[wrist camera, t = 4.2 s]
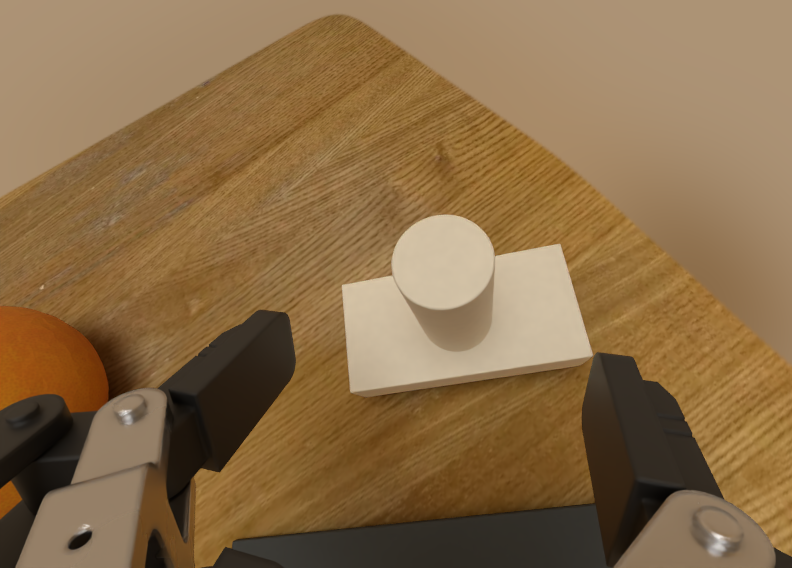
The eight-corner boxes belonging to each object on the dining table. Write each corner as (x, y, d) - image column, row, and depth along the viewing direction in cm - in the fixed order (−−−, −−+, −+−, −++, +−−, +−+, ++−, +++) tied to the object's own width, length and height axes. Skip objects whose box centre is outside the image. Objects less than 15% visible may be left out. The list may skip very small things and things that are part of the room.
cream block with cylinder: (550, 269, 21) (596, 150, 12) (577, 368, 19) (655, 312, 10) (359, 303, 22) (278, 219, 14) (368, 398, 21) (282, 372, 12)
